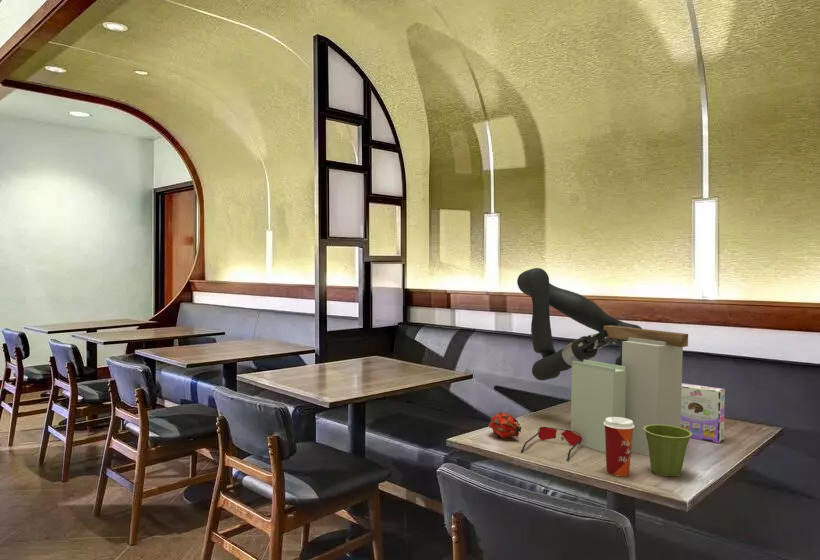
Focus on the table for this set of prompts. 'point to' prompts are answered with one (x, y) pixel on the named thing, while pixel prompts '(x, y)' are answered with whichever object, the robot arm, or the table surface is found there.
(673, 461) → the plant pot
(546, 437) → the glasses
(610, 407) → the sage box
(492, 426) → the dragon fruit
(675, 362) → the grey stand
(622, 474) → the paper cup
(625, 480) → the table surface
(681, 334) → the walnut bar
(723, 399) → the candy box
